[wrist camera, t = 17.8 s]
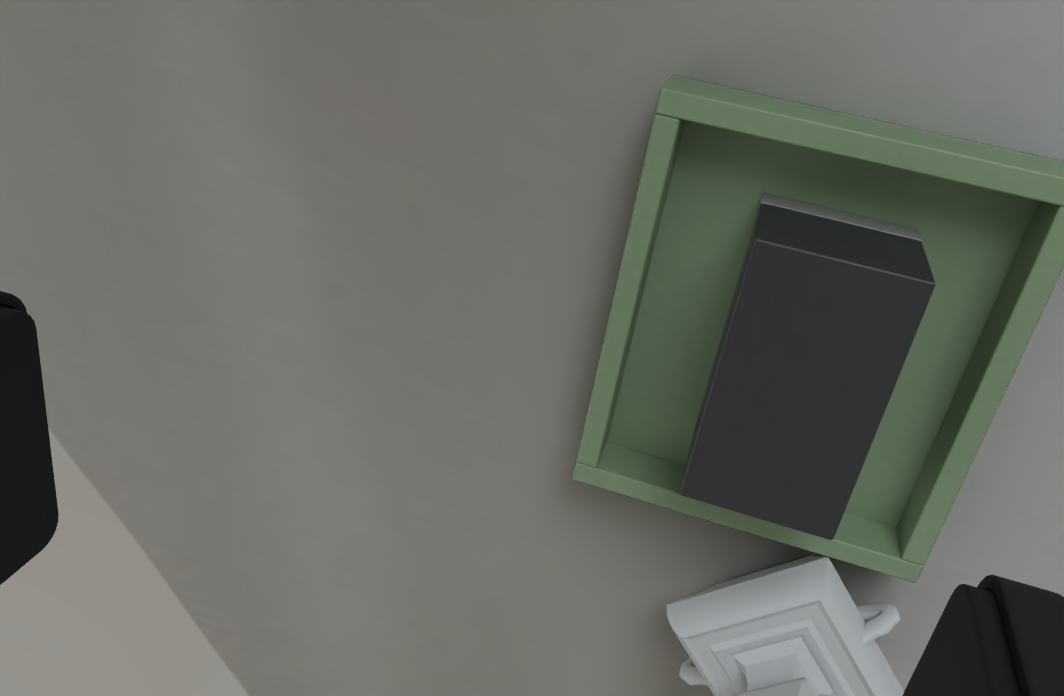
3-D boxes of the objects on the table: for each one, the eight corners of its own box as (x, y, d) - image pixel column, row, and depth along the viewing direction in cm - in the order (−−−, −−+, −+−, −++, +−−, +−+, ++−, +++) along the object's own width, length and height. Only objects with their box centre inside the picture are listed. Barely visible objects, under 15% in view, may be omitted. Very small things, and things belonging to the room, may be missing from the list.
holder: (672, 74, 30) (660, 87, 28) (1078, 164, 28) (1102, 185, 26) (586, 445, 37) (571, 480, 34) (909, 540, 34) (915, 584, 32)
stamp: (723, 693, 40) (703, 868, 32) (648, 575, 38) (609, 730, 31) (931, 640, 36) (961, 825, 29) (856, 506, 34) (868, 665, 27)
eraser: (762, 191, 30) (754, 237, 26) (919, 229, 29) (937, 283, 25) (695, 422, 34) (678, 496, 30) (830, 460, 33) (833, 541, 29)
